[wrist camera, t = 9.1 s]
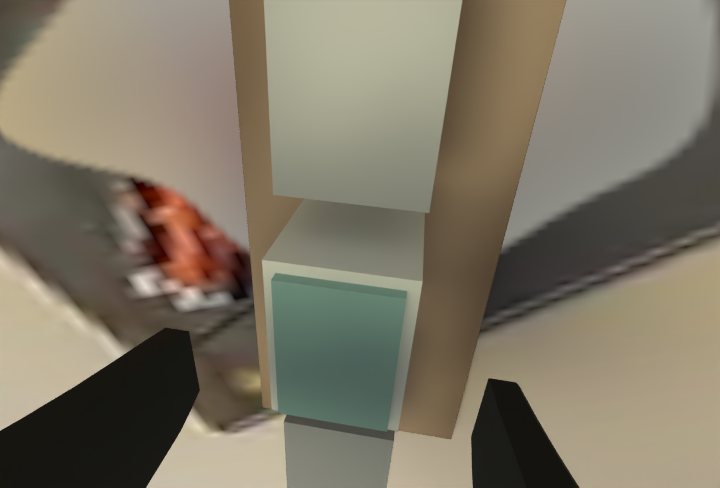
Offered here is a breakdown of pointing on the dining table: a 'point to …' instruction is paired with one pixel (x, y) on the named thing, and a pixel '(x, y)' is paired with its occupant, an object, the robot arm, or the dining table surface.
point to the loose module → (343, 312)
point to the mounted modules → (355, 154)
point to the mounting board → (450, 191)
